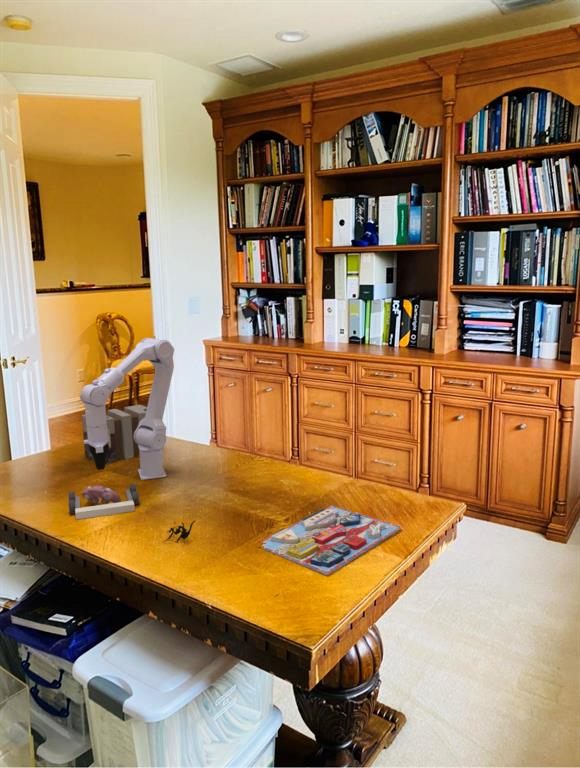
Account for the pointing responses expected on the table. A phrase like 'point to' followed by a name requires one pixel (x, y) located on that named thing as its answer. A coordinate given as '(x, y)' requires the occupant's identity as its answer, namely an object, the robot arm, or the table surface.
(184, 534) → the creature
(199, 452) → the table surface
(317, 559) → the puzzle board
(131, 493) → the chassis
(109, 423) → the bookend
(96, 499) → the pink toy figurine
